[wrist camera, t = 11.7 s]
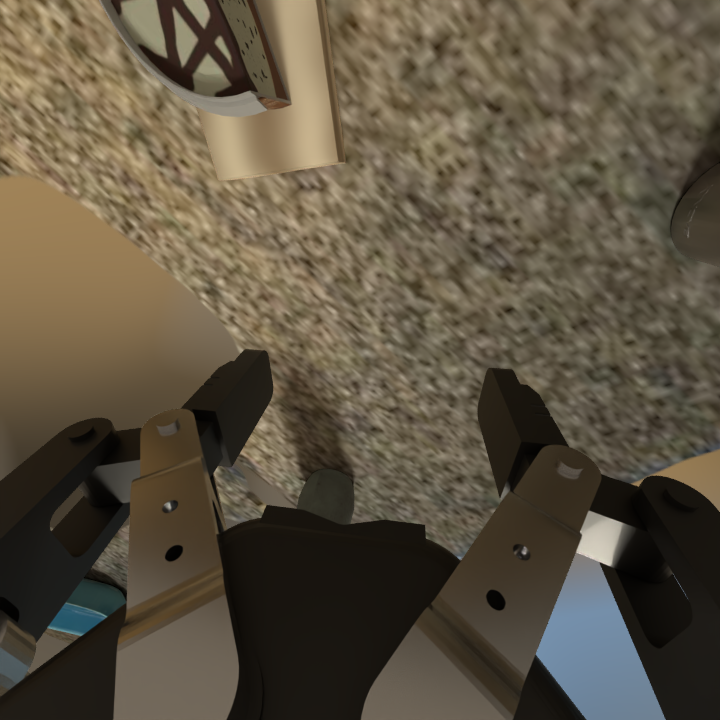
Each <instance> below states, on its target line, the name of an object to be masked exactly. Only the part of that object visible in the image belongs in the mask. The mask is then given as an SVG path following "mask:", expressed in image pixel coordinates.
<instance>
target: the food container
mask: <svg viewBox="0 0 720 720" xmlns="http://www.w3.org/2000/svg"><path fill="white" fill-rule="evenodd" d="M99 1H100V4H101V5H102V7H103V9H104V10H105V12H106V14H107V16H108V17H109V19H110V21H111V23H112V24H113V26H114V27H115V29H116V30H117V32H118V34H119V35H120V37H121V38H122V39H123V41H124V42H125V44H126V45H127V46H128V48H129V49H130V51H131V52H132V53H133V55H134V56H135V57H136V58H137V59H138V60H139V61H140V62H141V63H142V65H143V66H144V67H145V68H146V69H147V70H148V71H149V72H150V73H151V74H152V75H154V76H155V77H156V78H157V79H158V80H159V81H160V82H162V83H163V84H164V85H165V86H166V87H167V88H169V89H170V90H171V91H172V92H173V93H175V94H176V95H177V96H179V97H180V98H182V99H183V100H185V101H186V102H188V103H190V104H191V105H193V106H195V107H198V108H200V109H202V110H204V111H206V112H210V113H213V114H217V115H221V116H231V117H243V116H250V115H255V114H258V113H261V112H264V111H267V109H271V110H273V109H280V108H284V107H287V106H290V105H292V104H291V101H290V98H289V95H288V92H287V89H286V87H285V84H284V81H283V78H282V75H281V72H280V69H279V66H278V64H277V61H276V58H275V55H274V52H273V49H272V46H271V44H270V41H269V38H268V35H267V32H266V29H265V26H264V23H263V21H262V18H261V15H260V12H259V9H258V6H257V3H256V1H255V0H99Z"/></svg>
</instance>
